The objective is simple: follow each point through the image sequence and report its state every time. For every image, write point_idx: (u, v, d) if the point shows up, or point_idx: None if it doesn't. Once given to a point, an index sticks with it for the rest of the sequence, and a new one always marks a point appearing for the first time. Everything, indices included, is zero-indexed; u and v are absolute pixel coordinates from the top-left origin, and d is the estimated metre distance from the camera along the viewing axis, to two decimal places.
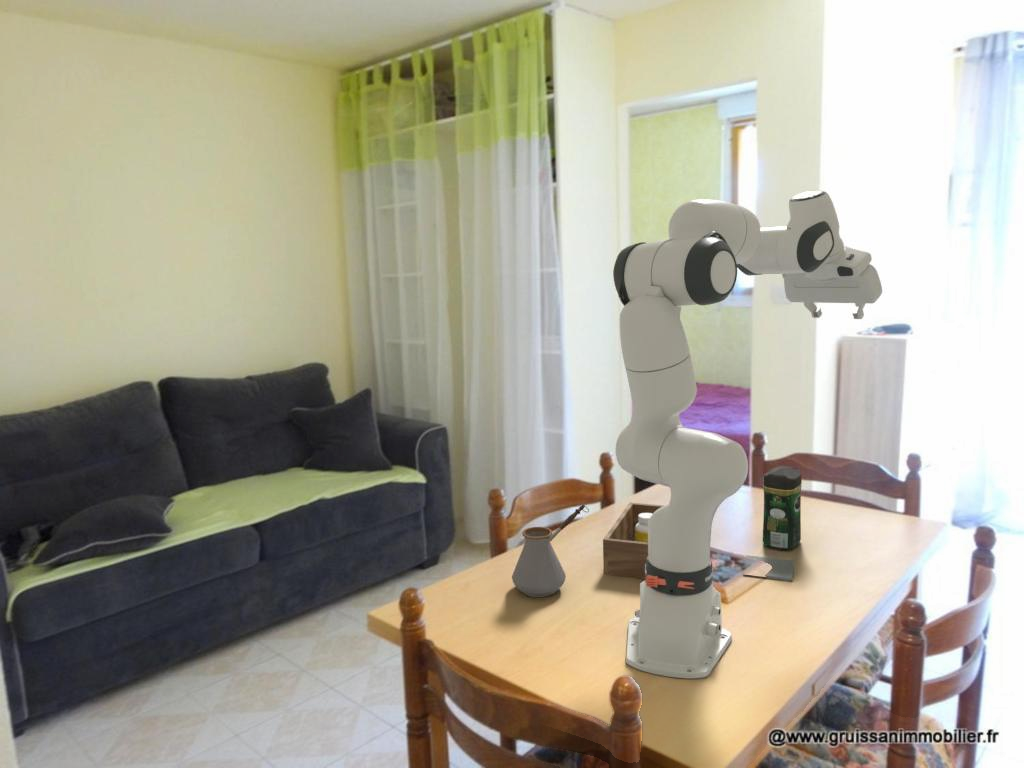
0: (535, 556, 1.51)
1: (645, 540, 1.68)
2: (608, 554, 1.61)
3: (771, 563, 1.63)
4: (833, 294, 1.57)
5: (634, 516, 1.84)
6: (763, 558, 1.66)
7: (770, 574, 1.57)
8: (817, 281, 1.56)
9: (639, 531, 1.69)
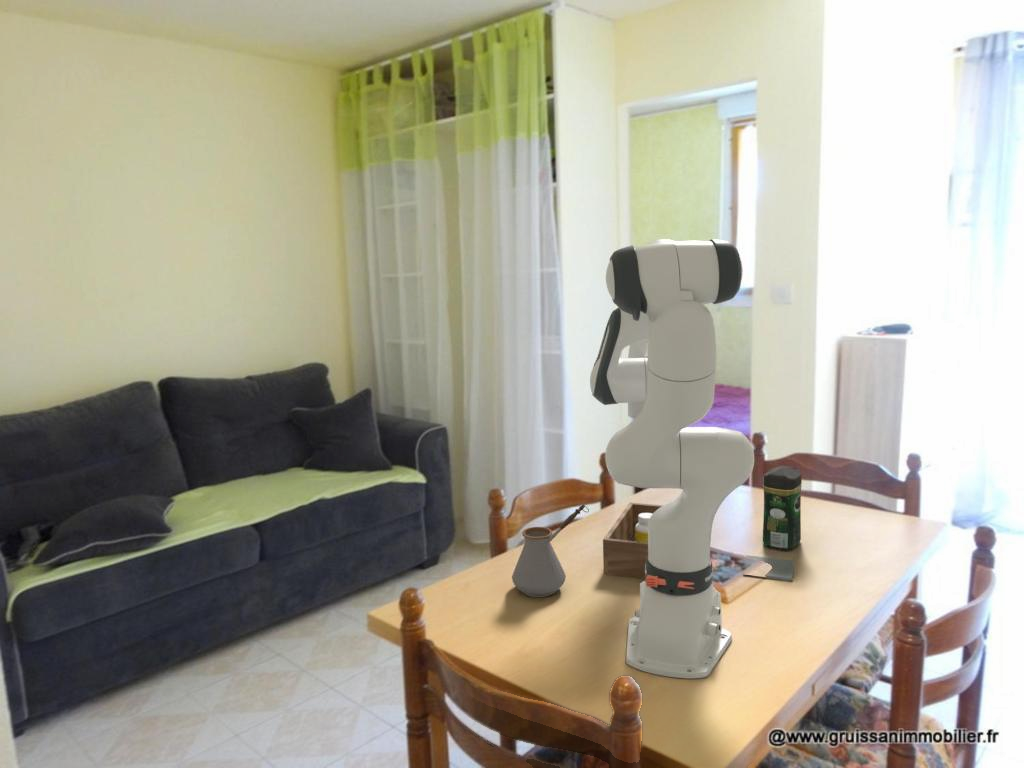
0: (535, 556, 1.51)
1: (645, 540, 1.68)
2: (608, 554, 1.61)
3: (771, 563, 1.63)
4: None
5: (634, 516, 1.84)
6: (763, 558, 1.66)
7: (770, 574, 1.57)
8: None
9: (638, 531, 1.69)
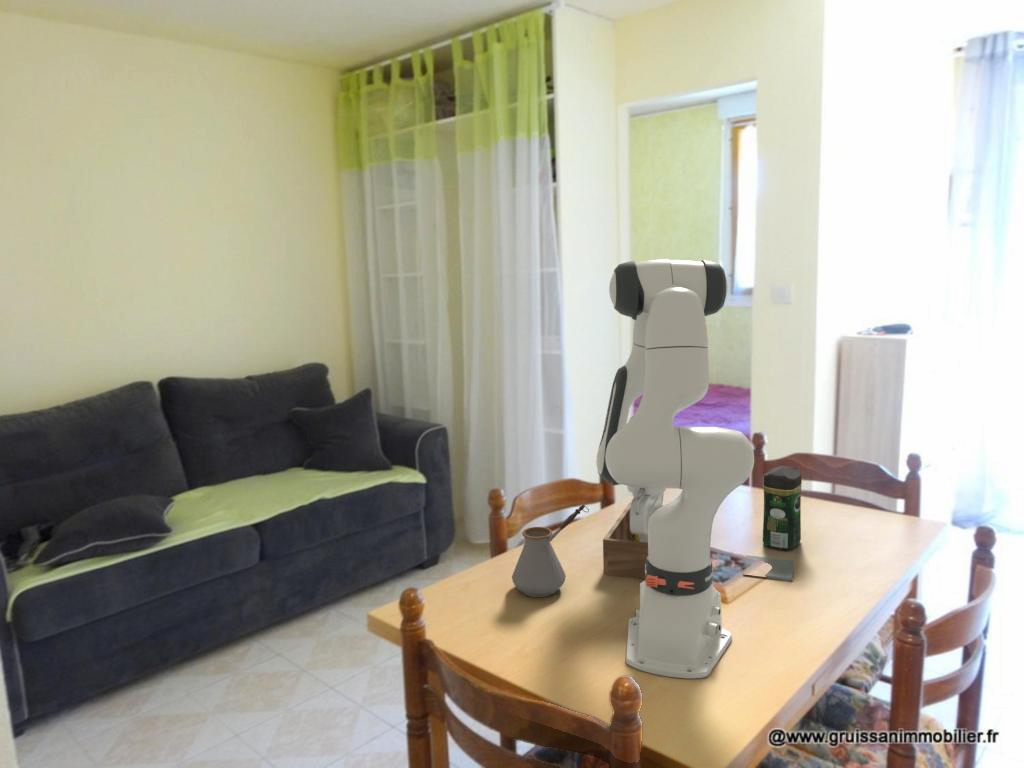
0: (535, 556, 1.51)
1: None
2: (608, 554, 1.61)
3: (771, 563, 1.63)
4: (655, 509, 1.70)
5: None
6: (763, 558, 1.66)
7: (770, 574, 1.57)
8: (659, 496, 1.67)
9: None
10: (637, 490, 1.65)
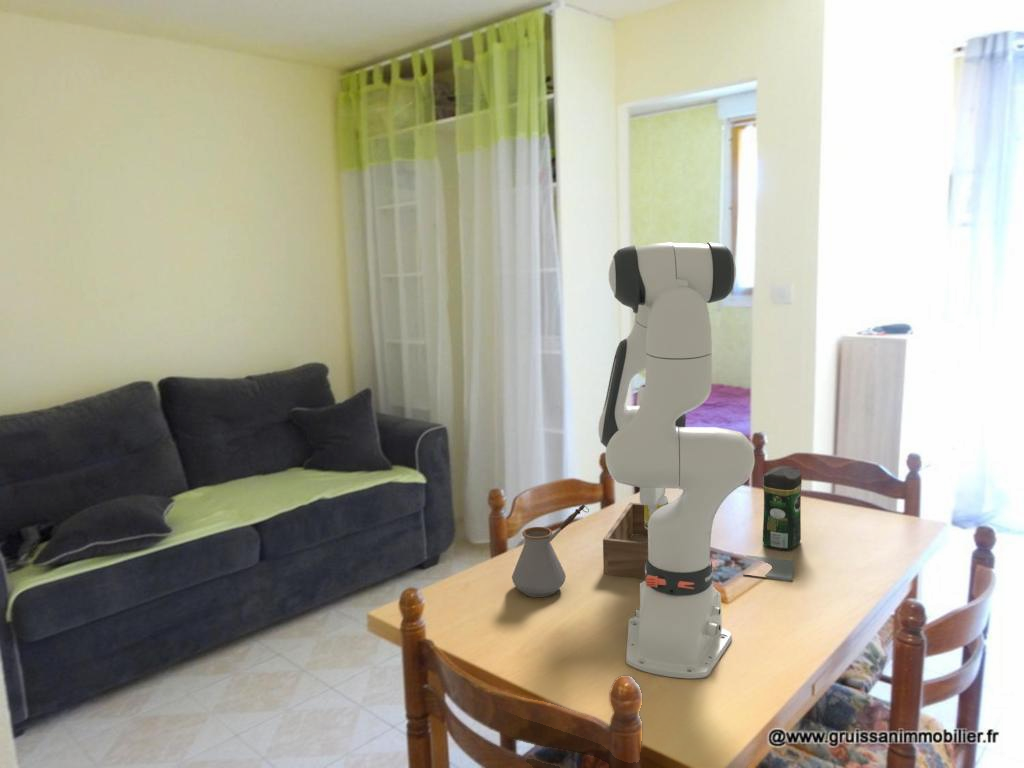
0: (535, 556, 1.51)
1: None
2: (608, 554, 1.61)
3: (771, 563, 1.63)
4: None
5: (634, 516, 1.84)
6: (763, 558, 1.66)
7: (770, 574, 1.57)
8: None
9: None
10: None
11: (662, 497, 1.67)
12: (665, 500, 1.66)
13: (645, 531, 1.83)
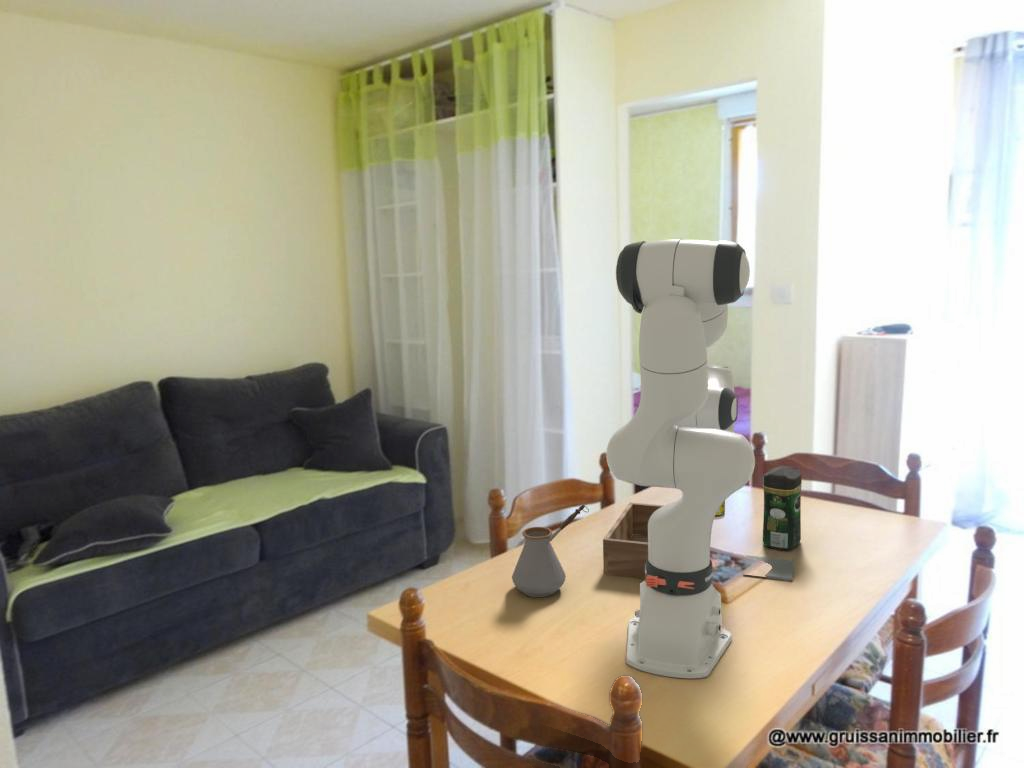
0: (535, 556, 1.51)
1: None
2: (608, 554, 1.61)
3: (771, 563, 1.63)
4: None
5: (634, 516, 1.84)
6: (763, 558, 1.66)
7: (770, 574, 1.57)
8: None
9: None
10: None
11: None
12: None
13: (645, 531, 1.83)
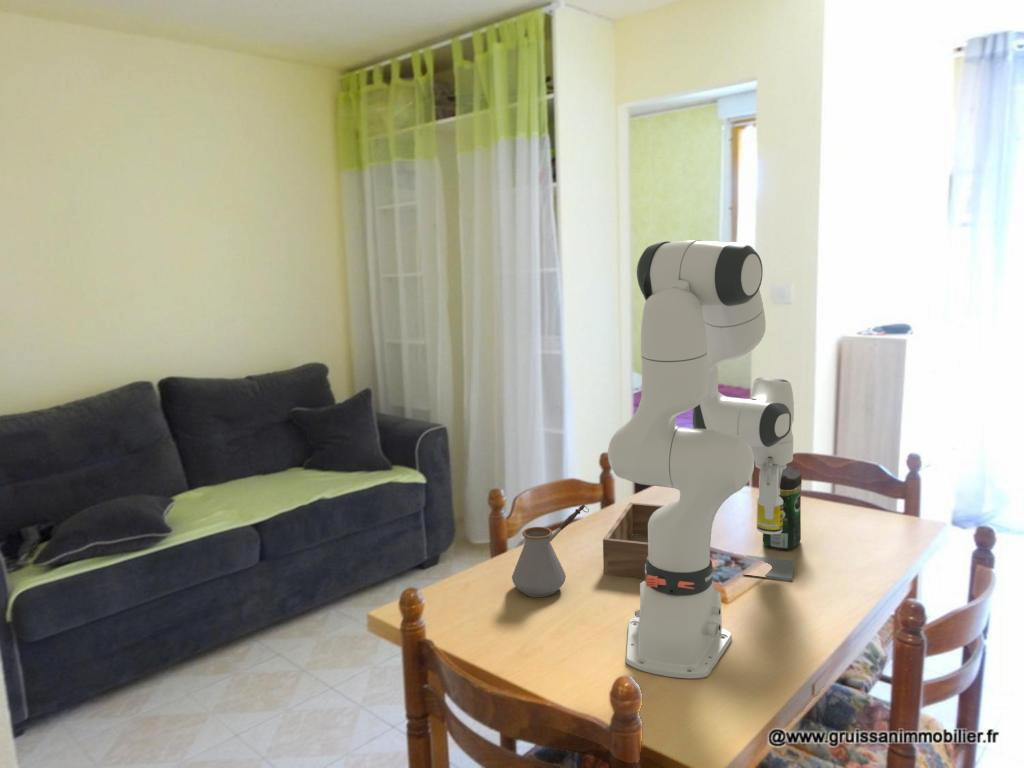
0: (535, 556, 1.51)
1: None
2: (608, 554, 1.61)
3: (771, 563, 1.63)
4: (779, 481, 1.59)
5: (634, 516, 1.84)
6: (763, 558, 1.66)
7: (770, 574, 1.57)
8: (785, 466, 1.56)
9: None
10: (764, 459, 1.54)
11: None
12: (781, 501, 1.57)
13: (645, 531, 1.83)
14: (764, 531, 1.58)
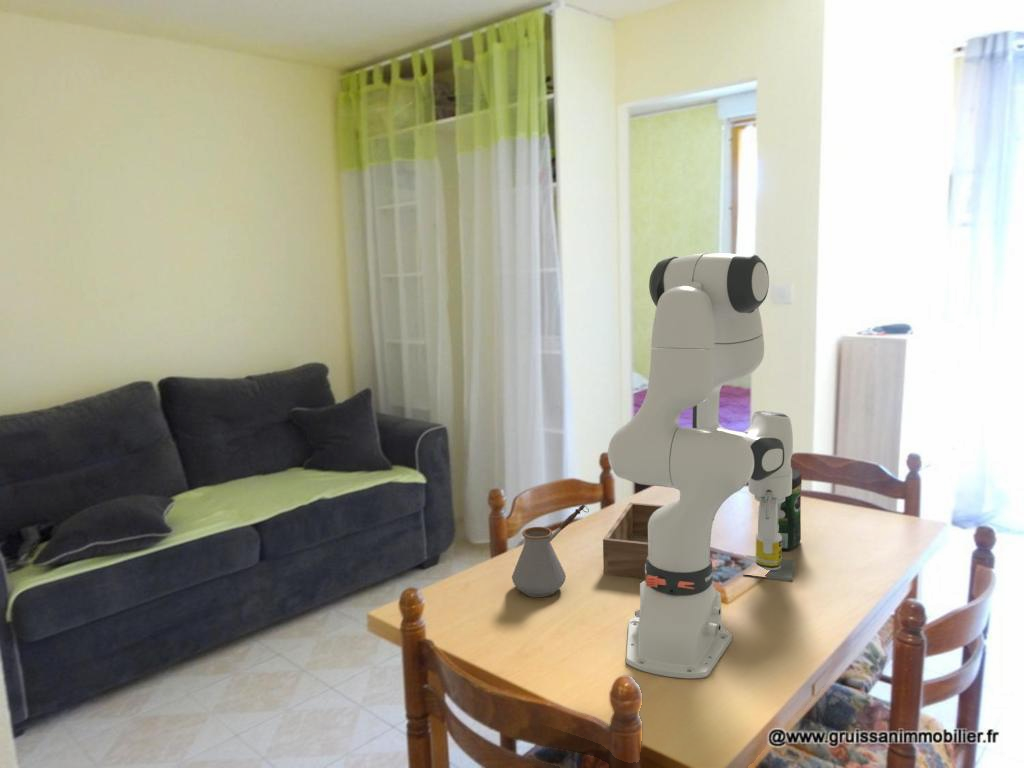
0: (535, 556, 1.51)
1: None
2: (608, 554, 1.61)
3: None
4: (778, 513, 1.60)
5: (634, 516, 1.84)
6: None
7: (770, 574, 1.57)
8: (784, 499, 1.57)
9: (761, 541, 1.59)
10: (763, 493, 1.55)
11: None
12: (779, 537, 1.58)
13: (645, 531, 1.83)
14: (763, 567, 1.59)
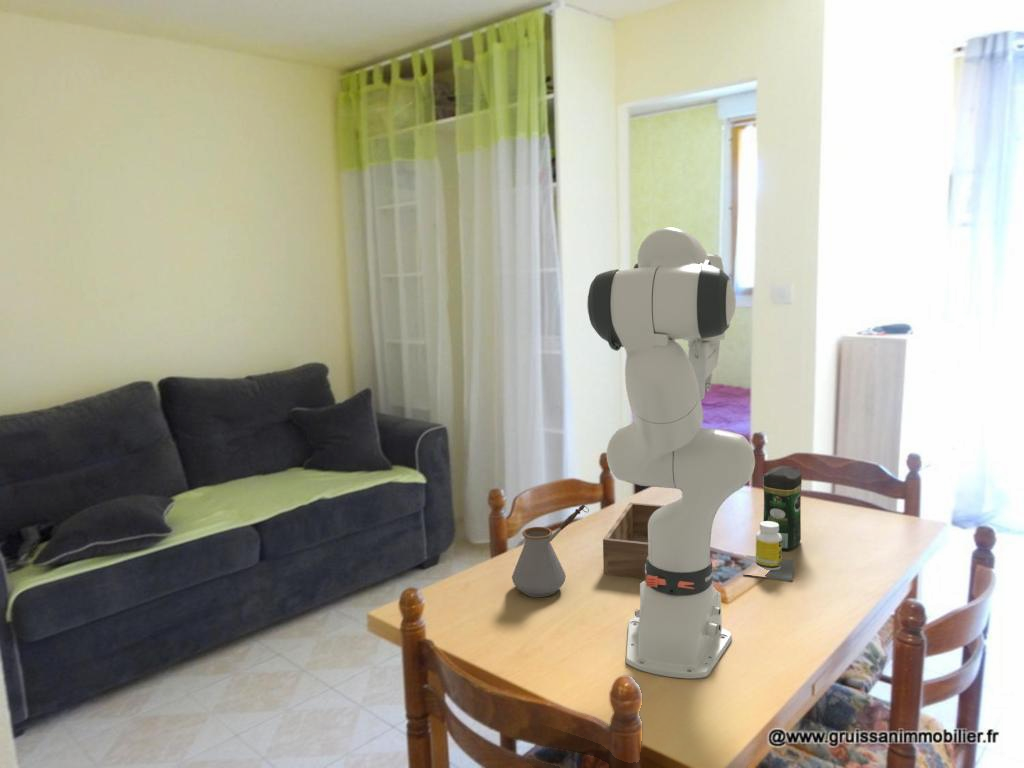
0: (535, 556, 1.51)
1: (769, 550, 1.58)
2: (608, 554, 1.61)
3: None
4: (712, 362, 1.58)
5: (634, 516, 1.84)
6: None
7: (770, 574, 1.57)
8: (717, 344, 1.55)
9: (761, 541, 1.59)
10: None
11: (776, 534, 1.59)
12: (779, 537, 1.58)
13: (645, 531, 1.83)
14: (763, 567, 1.59)
